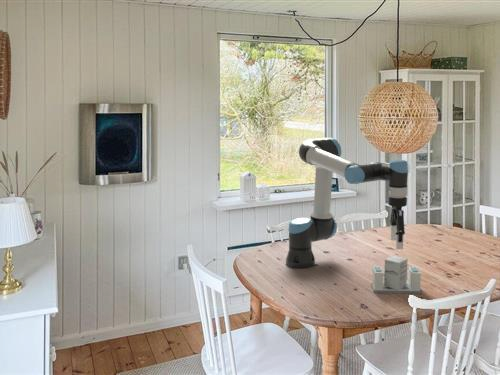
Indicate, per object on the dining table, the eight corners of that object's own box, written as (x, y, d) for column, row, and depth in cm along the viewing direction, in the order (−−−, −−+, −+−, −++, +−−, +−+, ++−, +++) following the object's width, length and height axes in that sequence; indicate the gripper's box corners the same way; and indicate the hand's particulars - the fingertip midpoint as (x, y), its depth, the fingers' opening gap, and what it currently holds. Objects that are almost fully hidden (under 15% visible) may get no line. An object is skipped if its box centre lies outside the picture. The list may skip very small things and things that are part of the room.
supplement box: (383, 286, 207) (383, 259, 205) (391, 281, 212) (392, 255, 210) (398, 290, 202) (399, 262, 200) (407, 285, 207) (408, 258, 205)
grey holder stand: (373, 292, 204) (374, 272, 202) (371, 285, 213) (371, 265, 211) (421, 293, 201) (422, 272, 200) (416, 285, 210) (417, 265, 208)
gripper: (384, 191, 213) (383, 236, 216) (393, 202, 188) (392, 253, 192) (401, 191, 212) (400, 236, 215) (413, 202, 187) (411, 253, 191)
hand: (396, 244), depth 204 cm, fingers open, 13 cm apart
